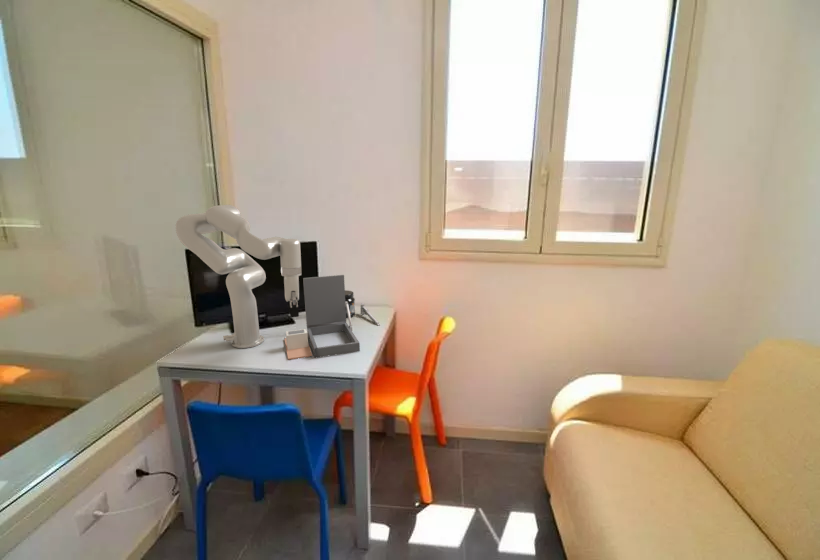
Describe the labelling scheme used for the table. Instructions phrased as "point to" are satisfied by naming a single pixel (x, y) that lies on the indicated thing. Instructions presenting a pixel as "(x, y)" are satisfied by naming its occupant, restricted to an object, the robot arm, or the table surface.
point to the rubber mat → (298, 352)
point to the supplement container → (350, 303)
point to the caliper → (365, 311)
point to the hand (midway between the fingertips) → (293, 312)
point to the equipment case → (328, 313)
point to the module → (297, 339)
